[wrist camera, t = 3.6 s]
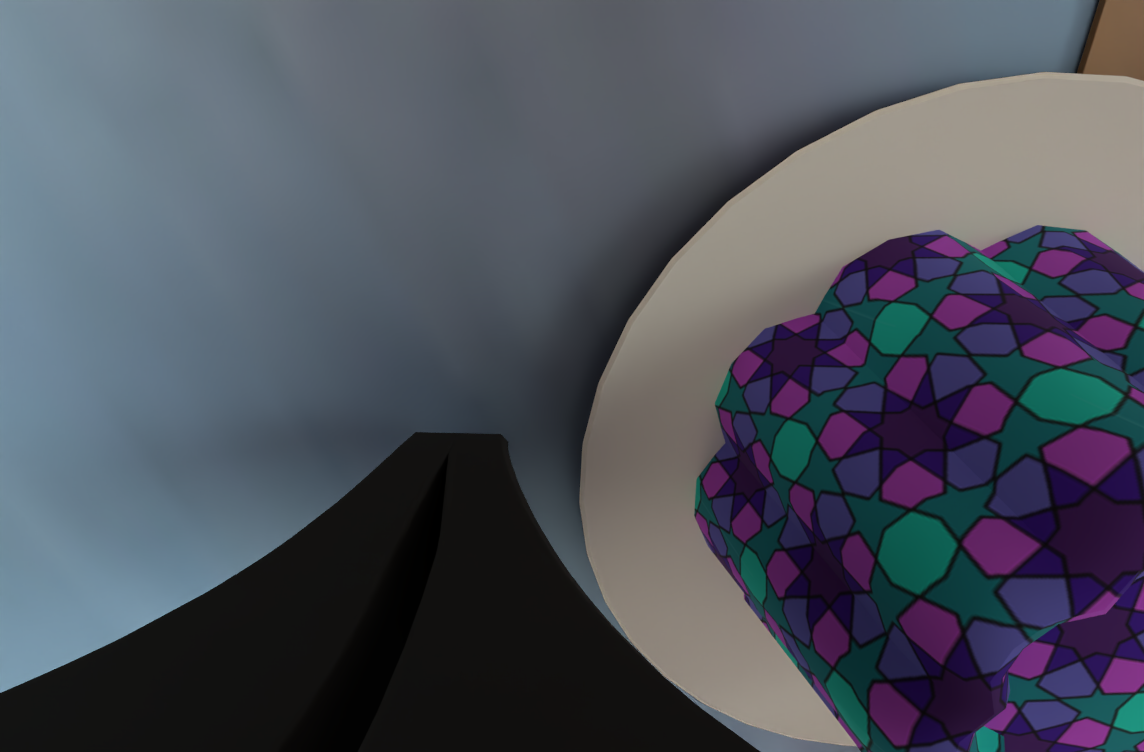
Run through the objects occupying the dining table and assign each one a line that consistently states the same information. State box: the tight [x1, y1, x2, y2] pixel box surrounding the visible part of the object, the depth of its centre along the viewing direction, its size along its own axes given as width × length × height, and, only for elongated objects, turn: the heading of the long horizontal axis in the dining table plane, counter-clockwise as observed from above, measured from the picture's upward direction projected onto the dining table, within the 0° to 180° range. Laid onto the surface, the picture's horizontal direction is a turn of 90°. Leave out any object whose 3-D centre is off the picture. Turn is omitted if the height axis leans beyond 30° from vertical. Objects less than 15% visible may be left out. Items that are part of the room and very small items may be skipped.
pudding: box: [579, 72, 1144, 752], centre depth 9 cm, size 12×12×5 cm
